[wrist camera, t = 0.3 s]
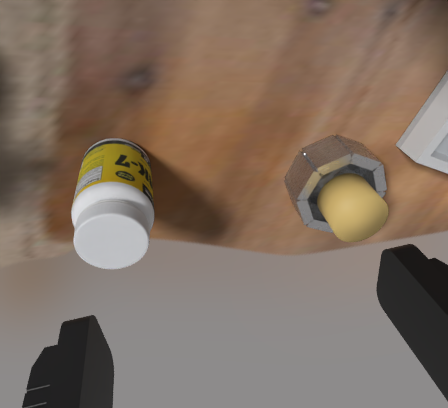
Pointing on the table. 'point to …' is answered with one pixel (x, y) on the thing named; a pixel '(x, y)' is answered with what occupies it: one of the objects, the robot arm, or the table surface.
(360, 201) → the yellow rounded lump
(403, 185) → the table surface
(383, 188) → the socket
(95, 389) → the robot arm
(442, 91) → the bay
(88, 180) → the supplement bottle
